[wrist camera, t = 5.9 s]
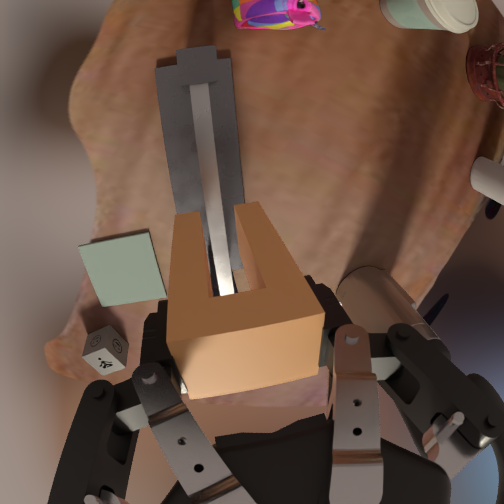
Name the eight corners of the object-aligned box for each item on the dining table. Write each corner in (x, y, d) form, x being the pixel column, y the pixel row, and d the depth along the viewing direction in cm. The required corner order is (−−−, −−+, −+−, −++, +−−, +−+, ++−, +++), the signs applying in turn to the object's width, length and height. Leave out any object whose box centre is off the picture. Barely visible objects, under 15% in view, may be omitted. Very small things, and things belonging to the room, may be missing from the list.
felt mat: (148, 231, 35) (148, 233, 35) (166, 295, 40) (166, 297, 40) (78, 245, 34) (77, 247, 34) (102, 305, 39) (102, 307, 39)
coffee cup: (423, 7, 25) (484, 0, 15) (411, 48, 29) (476, 47, 19) (379, -27, 22) (437, -48, 12) (363, 14, 26) (425, -2, 16)
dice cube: (106, 353, 44) (102, 375, 40) (87, 334, 41) (81, 357, 37) (128, 344, 44) (125, 367, 39) (109, 324, 41) (104, 347, 37)
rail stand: (229, 59, 27) (260, 31, 14) (249, 263, 40) (278, 344, 28) (155, 69, 26) (129, 47, 13) (190, 273, 39) (196, 359, 27)
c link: (258, 201, 19) (325, 312, 10) (261, 249, 21) (317, 374, 12) (175, 214, 19) (166, 342, 9) (185, 262, 20) (190, 399, 11)
